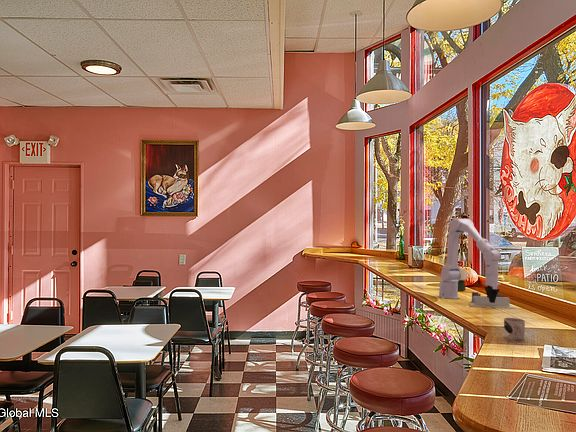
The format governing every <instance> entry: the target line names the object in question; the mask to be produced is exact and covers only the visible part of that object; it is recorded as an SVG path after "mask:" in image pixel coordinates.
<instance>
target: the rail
mask: <svg viewBox="0 0 576 432" xmlns="http://www.w3.org/2000/svg"><path fill="white" fill-rule="evenodd" d="M510 299H511V298H510V297H496V300H495V303H490V301H489V296H487V295H484V296H483V295H481V296H474V305H487V306H506V307H510V305H511V304H510V302H511V301H510Z"/></svg>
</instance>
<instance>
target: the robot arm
mask: <svg viewBox="0 0 576 432" xmlns="http://www.w3.org/2000/svg"><path fill="white" fill-rule="evenodd" d="M449 223H450V224H449V229H448V236H447V250H446V251H447V253H446V263H445V264H444V265H443V266H442V269H441V271H440V277H441V280H440V281H439V287H438V288H439V292H438V294H439V295H438V296H439V298H441V299H455V300H458V299H460V297H459V296H458V291H459V290H458V281H459V279H460V278H461V272H460V269H461V266H460V265H458V259H459V241H460V240H459V239H460V235H461V234H463V233H467V234H468V235H469V236H470V237H471V238H472V239H473V240H474V241H475V242H476V243H475V245H476V247H477V249H478V250H479V251H480V252H481V254H482V258H483V260H484V264H485V278H484V279H485V283H484V285H485V286H483V288H484V290H485V294H486V296H489V301H490V303H495V300H496V296H497V293H498V294H499V292H500V289H499V288H498V286H501V283H499V261H500V260H501V258H502V253H501V252H500V250H498V249H496V248H495V247H494V246H492V245H491V243H490V241H489V240H488V239H486V238H483V237H482V236H481V235H480V233H479V232H478V230H477V229H476V227H475V225H474V224H475V223H474V222H473V221H472V220H471V219H470V218H457V217H455V218H453V219H451V221H450V222H449Z"/></svg>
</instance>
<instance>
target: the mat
mask: <svg viewBox="0 0 576 432" xmlns="http://www.w3.org/2000/svg"><path fill="white" fill-rule="evenodd" d="M468 305H469V307H471V308H472V307H473V308H475V307H476V308H492V309H493V308H495V309H509V310H516V307H515V306H514V305H511V304H510V307H506V306H487V305H474V303H473V302H468Z"/></svg>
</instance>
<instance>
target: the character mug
mask: <svg viewBox="0 0 576 432" xmlns="http://www.w3.org/2000/svg"><path fill="white" fill-rule="evenodd" d="M460 272H461V278H460V279H459V281H458V291H466V290H467V289H466V282H465V281H466V280H467V279H469V278H471V273H470V272H469V271H468V269H466V268H460Z"/></svg>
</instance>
